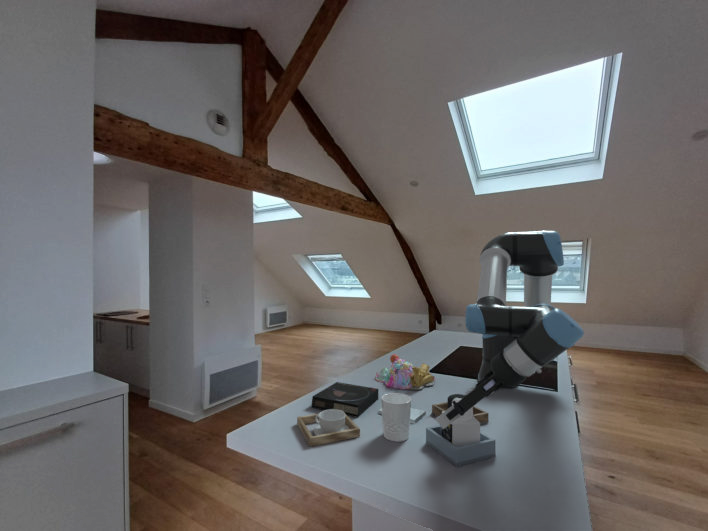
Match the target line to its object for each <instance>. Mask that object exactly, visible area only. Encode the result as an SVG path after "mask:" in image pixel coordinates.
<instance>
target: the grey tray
mask: <svg viewBox="0 0 708 531" xmlns="http://www.w3.org/2000/svg"><path fill="white" fill-rule="evenodd" d="M425 443H426V444H427V445H428V446H429V447H431V448H432V449H433V450H435V451H436V452H437V453H439V454H440V455H441V456H442V457H443V458H445V459H446V460H447V459H448V460H447V461H448V462H450V463H451V464H453V466H455V467H456V468H457V467H461V466H465V465H468V464H473V463H476V462H480V461H483V460H486V459H490V458H494V457H496V439H494V438H492V437H491V436H489V435H488V434H486V433H484V432H482V431H481V430H480V442H477V443H472V444H468V445H464V446H460V447H456V446H455V445H453V444H452V443H450V442H449V441H448V440H446V439H445V438H443V437H442V427H441V426H440V424H438V425H437V424H436V425H432V426H428V427H425Z"/></svg>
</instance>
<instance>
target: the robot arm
mask: <svg viewBox="0 0 708 531" xmlns="http://www.w3.org/2000/svg"><path fill="white" fill-rule="evenodd" d="M564 262H565V261H564V250H563V244H562V239H561V235H560V233H559V232H558V231H556V230H538V231H536V230H534V231H517V232H516V231H515V232H513V231H511V232H505V233H502V234H499V235H497V236H495V237H494V238H492V239H491V240H489V241H488V242H487V243H486V245H484V247H483V248H482V249H481V252H480V255H479V263H480V266H481V267H480V269H481V270H480V275H479V280H478V281H479V283H478V289H477V297H476V303H473V304H472V303H471V304H468V305H467V306H466V308H465V315H464V316H465V318H464V321H465V322H464V323H465V327H466V328H465V329H466V330H467V331H468V332H469V333H475V334H481V335H482V336H481V339H482V361H481V365H480V368H479V372H478V374H477V381H478V382H477V383H476V384H475V387H472V388H471V389H470V390H468V391H467V392H466V393H465V394H464V395H466V396H465V397H464V398H462V399H461V400H460V401H459V402H455V400H454V401H453V402H452V403H453V404H454V405H452V406H451V407H450V408H449V409H447V410H446V411H445V412H443V413H442V414H441V415H440V416H437V417H436V418H435V420H436V422H437V423H438V425H440V426H441V427H442V428H443V429H444V428H446V427H447V426H448V425H450V424H451V423H452V422H454V421H455V420H456V419H458V418H459V417H460V416H462V415H464V414H465V412H467V411H468V410H469V409H470V408H472V407H473V406H476V405H477V404H479V402H480V401H482V400H483V399H485V398H488V397H489V396H491V395H492V394H493V393H494V392H497V391H499V390H500V389H501V388H504V389H505V388H507V389H511V388H517V387H518V386H519V385H521V384H523V383H524V382H525V381H526V380H527V378H529V377H531V376H533V375H534V374H536V373H537V374H541V373H542V368H543V367H545V366H546V365H548V364H549V363H550V362H553V361H554V360H556V358H557V357H559V356H560V355H562V354H563V353H565V351H567V350H568V349H570V348H573V347H574V346H575V344H576V343H578V342H579V341H580V340H581V339H582V338H583V337H584V335H585V331H584V329H583V327H581V326H580V324H579V323H578V322H577V321H576V320H575V319H574V318H572V317H571V316H570V315H569V314H568V313H566V312H565V311H564V310H562V309H561V308H556V307H555V306H553V305H551V304H552V287H553V286H552V284H553V275H555V274H556V273H557V272H558V270H559V267H562V266H564V264H565V263H564ZM509 267H518V268H519V271H520V272H521V273H522V274H523V306H522V305H521V306H520V305H517V306H515V305H507V285H508V284H507V281H508V269H509Z"/></svg>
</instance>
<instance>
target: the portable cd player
mask: <svg viewBox="0 0 708 531" xmlns="http://www.w3.org/2000/svg"><path fill="white" fill-rule="evenodd" d="M378 400H379V388H374V387H369V386H363V385H358V384H357V385H356V384H350V383H345V382H338V381H336V382H334V383H332V384H331V385H330V386H328V387H326V388H324V389H323V390H320V391H319V392H317V393H315V394H314V395H313V396H312V398H311V408H312V409H317V410H320V411H321V410H322V411H324V410H329V409H336V410H342V411H343V412H344V413H345V414H346V415H347V416H348V417H354V418H359V417H360V416H361V415H363V414H364V413H365V412H366V411H367V410H368V409H370V407H372V406H373V405H374V404H375V403H376V402H377V401H378Z"/></svg>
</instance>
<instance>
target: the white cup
mask: <svg viewBox="0 0 708 531" xmlns="http://www.w3.org/2000/svg"><path fill="white" fill-rule="evenodd" d="M381 408H382V414H381V417H382V418H381V419H382V425H383V426H382V428H383V429H382V431H383V434H382V435H383V436H384V438H385V439H386V440H388V441H389V442H390V441H391V442H396V443H397V442H399V443H400V442H404V441H407V440H408V439H409V435H410V427H411V423H410V414H411V408H412V398H411V397H410V396H409V395H407V394H404V393H398V392H390V393H385V394H383V395H382V396H381Z"/></svg>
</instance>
